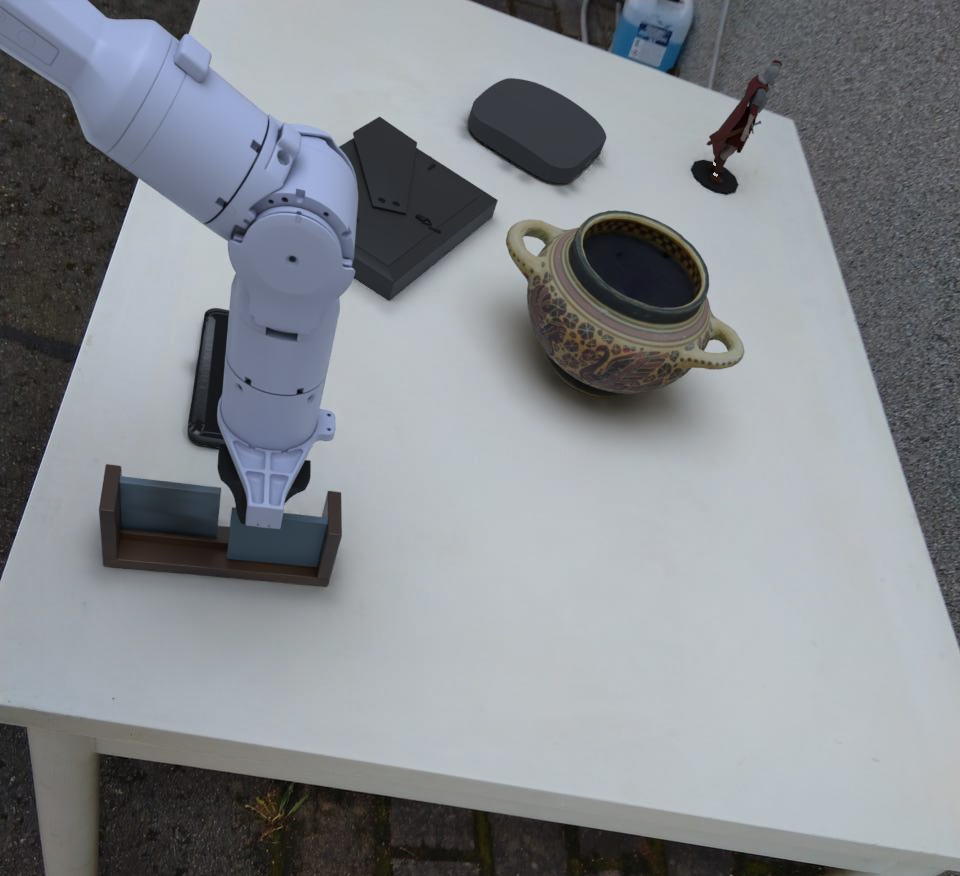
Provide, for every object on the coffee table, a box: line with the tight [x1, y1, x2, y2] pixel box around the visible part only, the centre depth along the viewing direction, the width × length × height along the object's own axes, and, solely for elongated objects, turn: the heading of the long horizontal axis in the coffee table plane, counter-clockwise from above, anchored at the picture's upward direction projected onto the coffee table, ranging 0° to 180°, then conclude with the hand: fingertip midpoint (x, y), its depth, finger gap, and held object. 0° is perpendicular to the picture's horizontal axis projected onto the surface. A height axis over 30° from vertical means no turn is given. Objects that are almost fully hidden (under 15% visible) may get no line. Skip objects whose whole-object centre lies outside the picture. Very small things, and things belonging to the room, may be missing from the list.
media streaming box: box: [467, 77, 607, 184], centre depth 111 cm, size 15×15×3 cm
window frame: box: [98, 463, 343, 587], centre depth 67 cm, size 16×4×6 cm, turn 95°
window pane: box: [227, 506, 328, 567], centre depth 66 cm, size 7×1×8 cm, turn 95°
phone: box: [187, 307, 229, 449], centre depth 78 cm, size 8×1×15 cm
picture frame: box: [338, 116, 499, 301], centre depth 95 cm, size 16×3×21 cm
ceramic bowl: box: [505, 209, 745, 398], centre depth 88 cm, size 24×18×15 cm
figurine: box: [690, 59, 783, 196], centre depth 114 cm, size 7×7×15 cm
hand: (256, 508), depth 64 cm, fingers closed
